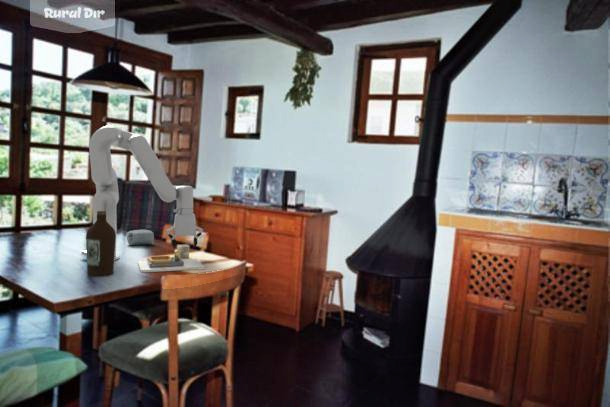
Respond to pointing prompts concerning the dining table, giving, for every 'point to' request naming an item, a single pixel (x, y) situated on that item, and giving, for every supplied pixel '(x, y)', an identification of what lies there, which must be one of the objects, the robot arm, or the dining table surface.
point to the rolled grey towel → (140, 237)
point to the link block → (183, 251)
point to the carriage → (165, 260)
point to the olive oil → (100, 247)
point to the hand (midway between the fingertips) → (184, 246)
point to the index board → (188, 265)
